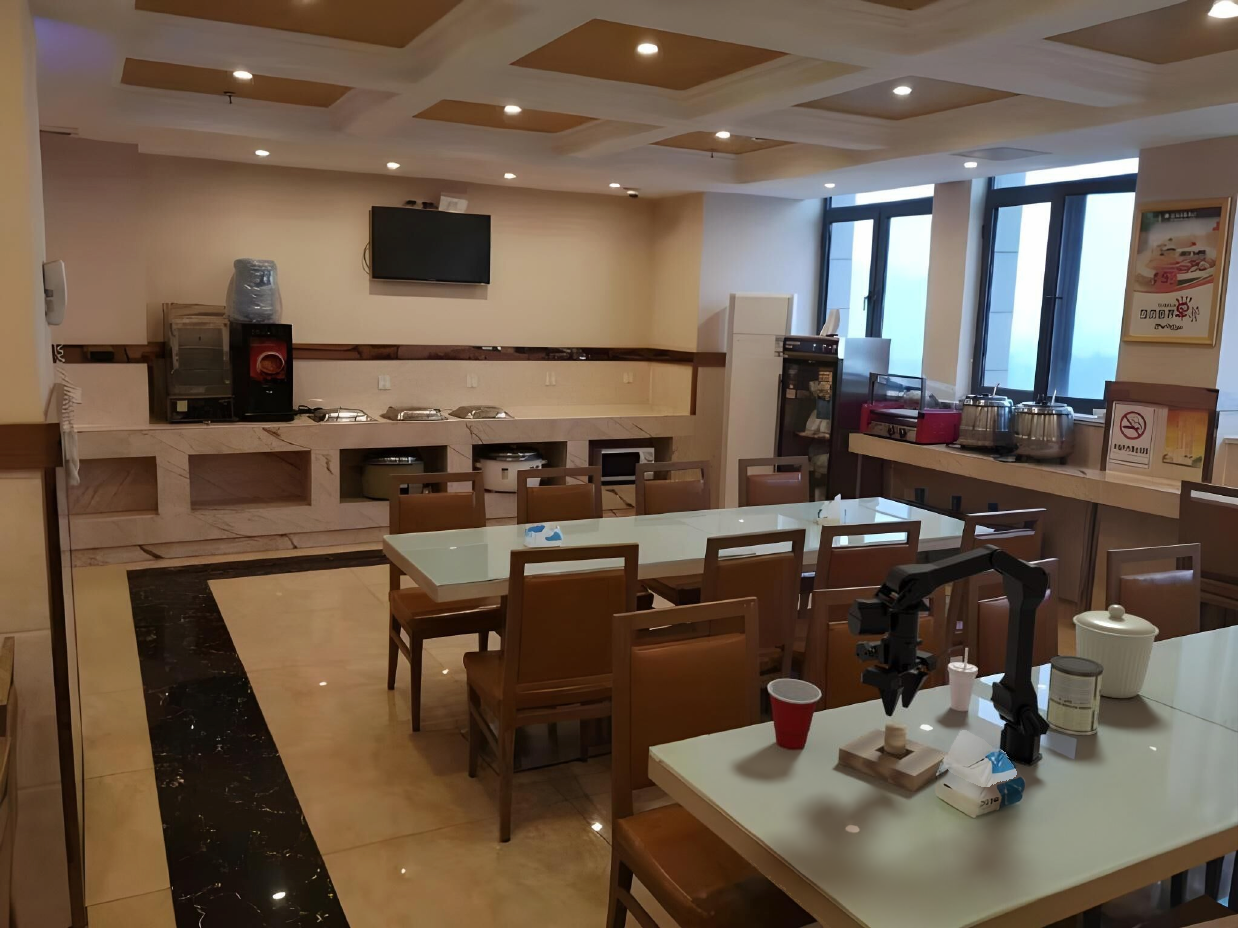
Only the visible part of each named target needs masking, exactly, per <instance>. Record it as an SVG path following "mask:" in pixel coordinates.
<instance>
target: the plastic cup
mask: <svg viewBox="0 0 1238 928" xmlns="http://www.w3.org/2000/svg"><path fill="white" fill-rule="evenodd" d="M767 691H768V693H769V697H770V704H771V710H772V719H773V727H774V732H775V733H774V735H775V741H776V745H777V746H778V747H780V748H782V749H785V750H789V751H799V750H801V749H804V748H805V746H806V744H807V741H808V736H809V732H810V729H811V726H812V721H813V716H814V713H815V708H816V706H817V703H818V701H819V700H820V699H821V697H822V692H821V689H819V688H818V687H817V686H816V685H814V684H813V683H810V682H807V681H804V680H801V679H800V680H799V679H796V678H795V679H794V678H793V679H792V678H777V679H775V680H772V681H770V682H769V683H768V684H767Z"/></svg>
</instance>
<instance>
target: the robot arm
mask: <svg viewBox="0 0 1238 928" xmlns="http://www.w3.org/2000/svg"><path fill="white" fill-rule="evenodd" d="M992 570H993V571H994V572H995V573H997V574H999V575H1001V577H1002V586H1003V588H1002V589H1003V592H1004V594H1005V596H1006V600H1007V603H1008V605H1009V608H1008V622H1007V633H1006V634H1007V635H1006V637H1007V638H1006V646H1005V649H1006V650H1005V662H1004V675H1003V676H1002V678H1001V679H1000V680H999V681H993V682H992V684H991V690H992V692H991V697H990V699H989V700H990V701H991V702H992V705H993V708H994V710H995V711H996V712H997V713H998V717H999V719H1000V720H1001V721H1003V722H1005V723H1003V728H1002V729H1001V730H1000V739H999V749H1001V750H1003V751H1004V752H1006V754H1007V756H1008V757H1009V760H1011V761H1014V762H1017V763H1020V764H1023V765H1026V766H1032V765H1033V764H1034V763H1036V762H1037V761H1039V760H1040V759H1042V758H1043V753H1041V752H1040V751H1041V750H1040V748H1041V739H1042V736H1045V735H1047V734H1048V731H1049V729H1050V725H1049V724H1048V723H1047V721H1046V719H1045V718H1044V717H1043V716H1042V715H1041V714H1040V713H1039V701H1038V695H1037V692H1036V689H1035V687H1034V683H1033V682H1032V671H1033V670H1032V669H1033V658H1034V646H1035V634H1036V633H1035V632H1036V622H1037V621H1036V619H1037V609H1038V608H1039V606H1040V605H1041V604H1042V602H1043V601H1044V600H1045V598H1046V595H1047V591H1048V587H1049V583H1050V579H1049V574H1048V572H1047V571H1046V570H1045V569H1044V568H1043V567H1041V566H1039V565H1036V564H1034V563H1031V562H1030V561H1029V562H1028V561H1027V560H1023V559H1019V558H1016V557H1015V556H1012V555H1011V554H1010V553H1008V552H1006V550H1004V549H1003V548H1001V547H998V546H995V545H992V544H984V545H982V546H980V547H979V548H976V549H972V550H969V551H965V552H963V553H959V554H956V555H954V556H951V557H947V558H943V559H941V560H938V561H934V562H931V563H924V564H923V563H920V564H919V563H918V564H917V563H910V564H903V565H902V564H901V565H896V566H894V567H892V568H890V569H889V570H888V573H887V575H886V577H885V580H884V581H883V582H882V583H881V585H880V586H879V588H878V589H877V590H876V591H875V593H874V594H873V595H872V599H862V598H855V599H853V604H852V605H851V606H850V608H849V610H848V612H847V615H846V621H847V623H846V624H847V627H848V630H849V632H850V634H851V635H852V636H853V637H863V636H864V637H865V636H866V637H867V636H882V638H880V640H877V641H869V642H868V641H860V642H857V643H856V645H855V648H854V650H855V651H854V653H853V655H854V656H855V657H856V659H857V660H859V661H860V663H866V662H874V661H877V664H874V665H871V666H870V667H867V668H865V669H863V670H862V671H861V677H860V683H862V684H864V685H868V686H870V687H874V688H877V690H878V692H879V695H880V698H881V701H882V706H883V709H884V712H885V715H886V716H887V717H890V718H891V717H893V714H894V712H895V710H896V709H897V708H896V707H897V705H898V703H899V701H900V699H901V705H902V708H904V709H909V707H910V706H911V704H912V702H913V700H914V699H915V697H916V695H917V694H918V692H919V690H920V689H921V687H922V685H923V684H924V682H925V681H926V679H927V678H928V677H929V676H930V673H931V672H933V671H936V670H937V669H938V667H937V666H938V659H937V657H936V656H935V655H934V654H933V653H930V652H926V651H923V650H919V649H918V647H919V646H922V644H923V639H922V638H919V627H920V626H919V625H920V613H925V612H926V613H927V612H928V613H929V612H931V610H932V609H931V607H930V606H928V604H927V603H926V602H925V601H924V599H925V598H927V597H930V596H931V595H932V594H933V593H934V592H935V591H936V590H937V589H939V588H941V587H943V586H945V585H948V584H951V583H955V582H958V581H961V580H964V579H966V578H971V577H974V576H977V575H979V574H983V573H986V572H989V571H992ZM892 594H893V595H894V596H896V598H895V597H893V596H891V595H892ZM885 634H886V635H885ZM883 635H885V636H883ZM878 664H880V665H878ZM881 665H886V666H885V667H884V666H881ZM922 666H924V667H925V669H926V671H924V668H923V667H922ZM929 672H930V673H929ZM1001 750H1000V751H1001Z"/></svg>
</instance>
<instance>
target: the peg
mask: <svg viewBox="0 0 1238 928" xmlns="http://www.w3.org/2000/svg"><path fill="white" fill-rule="evenodd" d="M907 728H908V727H907V725H905V724H904V723H901V722H897V721H896V722H895V721H889V722H886V723H885V725H884V731H885V738H884V747H883V750H884V753H883V754H885V755H888V756H891V757H894V758H896V759H899V760H901V759H903V758H905V753H906V750H905V747H906V739H907Z"/></svg>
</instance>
